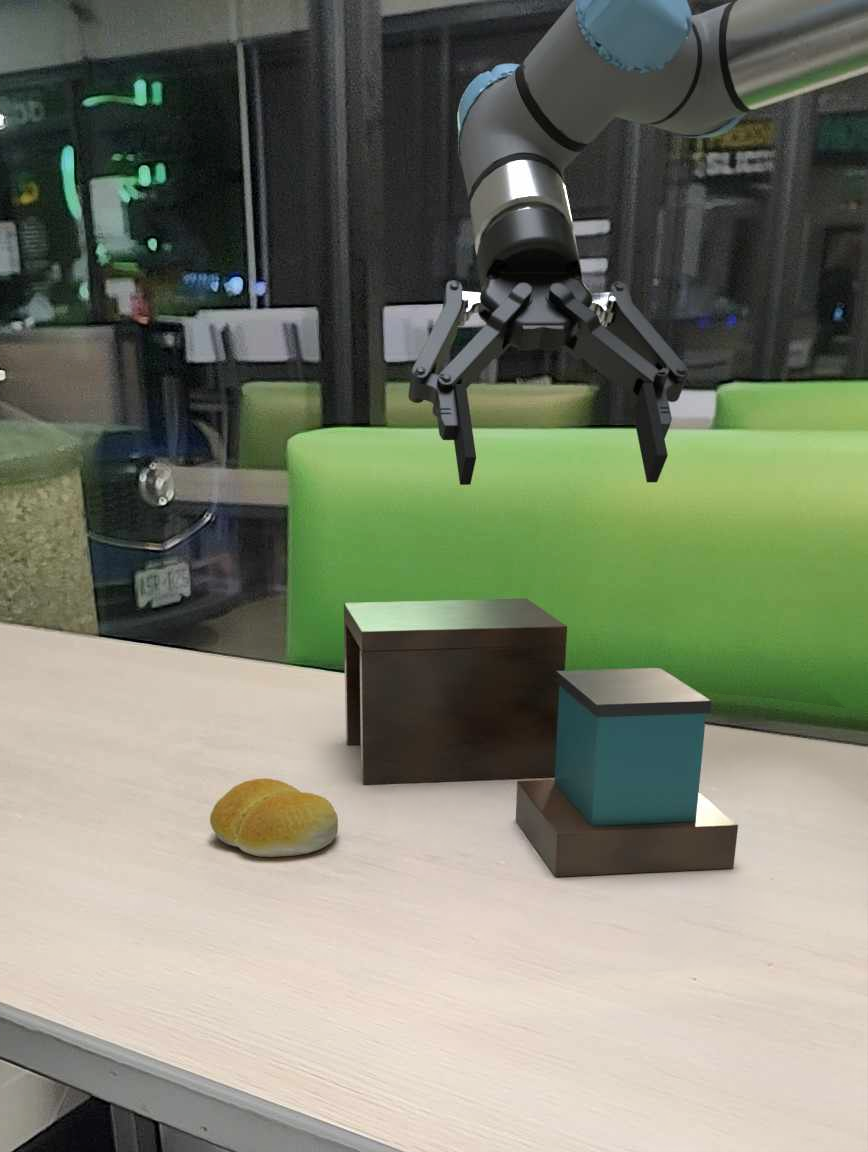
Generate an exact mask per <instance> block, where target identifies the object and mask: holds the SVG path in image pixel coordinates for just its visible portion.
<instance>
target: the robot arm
mask: <svg viewBox="0 0 868 1152" xmlns="http://www.w3.org/2000/svg"><path fill="white" fill-rule="evenodd" d="M864 74H868V0H732V1H731V2H727V3H725V4H721V5H719V6H717V7H714V8H711V9H709V10H706V11H704V12H701V13H698V14H693V15H692V11H691V7H690V5H689V2H688V0H573V1H572V2H571V3H570V4H569V5H568V6H567V8H566V9H565V10H564V12H563V13H562V14H561V15H560V16H559V17H558V18H557V20H556V21H555V22H554V24H553V25H552V26H551V27H550V28H549V30H548V31H547V32H546V33H545V34H544V36H543V37H542V38H541V40H539V42H538V43H537V44H536V45H535V46H534V47H533V49H532V51H530V53H529V54H528V55H527V56H526V58H524V60H523V62H522V63H521V64H518V63H501V64H498V65H496V66H494V68H492V69H489V70H487V71H485V72H481V73H480V74H478V75H477V76H476V77H475V78H474V79H472V81H470V83H469V84H468V86H466V89H465V91H464V93H463V94H462V96H461V99H460V102H459V105H458V110H457V135H458V136H457V137H458V138H457V154H458V159H459V162H460V165H461V168H462V174H463V178H464V184H465V188H466V192H467V199H468V210H469V216H470V220H471V230H472V236H473V243H474V250H475V255H476V264H477V271H478V272H477V273H478V278H479V279H478V280H479V284H480V292H478V291H477V292H476V291H464V290H463V284H462V283H461V282H460V281H458V280H455V279H451V280H448V281H447V282H446V285H445V290H444V297H443V303H442V310H441V311H440V313H439V316H438V317H437V319H436V321H435V323H434V325H433V327H432V328H431V331H430V333H429V335H428V337H427V339H426V341H425V343H424V345H423V347H422V348H421V351H420V352H419V355H418V356H417V359H416V361H415V362H414V364H413V366H412V368H411V374H410V381H409V387H408V396H407V397H408V400H410V402H412V403H414V404H421V403H423V402H424V401H426V402H430V403H431V404H433V405H432V414H433V415H434V416H435V417H436V419H437V427H438V435H439V437H440V439H441V440H442V441H453V444H454V451H455V458H456V464H457V465H456V467H457V472H458V473H457V474H458V480H459V481H458V482H459V486H460V485H461V486H470V485H471V484H472V480H473V474H474V470H475V466H476V461H477V452H476V445H475V440H474V438H475V437H474V431H473V425H472V418H471V411H470V404H469V403H470V402H469V397H468V390H467V389H468V388H469V387H470V386H471V384H473V382H475V380H477V378H478V377H479V376H480V375H481V374H482V373H483V372H484V370H485V369H487V367H488V366H489V365H490V364H491V363H492V362H493V361H494V360H495V361H496V360H498V359H499V358H500V357H501V356H502V355H503V354H504V353H505V351H507V350H508V348H509V347H511V346H512V347H514V348H517V351H518V352H529V351H533V350H543V351H548V352H559V351H560V348H561V349H562V350H564V351H565V352H566V353H567V354H568V355H570V356H571V357H572V358H573V359H575V360H581V359H583V360H584V361H585V362H586V363H588V364H589V365H591V366H592V367H593V368H594V369H595V370H596V371H598V372H599V373H601V374H602V375H603V376H604V377H606V378H607V379H608V380H609V381H610V382H612V383H613V384H615V385H616V386H617V387H619V389H621V390H622V391H623V392H625V393H626V394H627V395H628V396H629V397H631V398H632V399H633V400H635V404H634V407H633V410H632V414H633V419H634V425H635V429H636V435H637V440H638V445H639V451H640V455H641V460H642V465H643V469H644V475H645V480H646V483H658V481H659V478H660V477H661V473H662V471H663V468H664V466H665V463H666V462H667V461H666V460H667V458H668V457H669V455H668V450H667V445H666V441H665V439H666V437H667V434H668V432H669V429H670V426H671V423H672V419H673V418H672V417H673V416H672V413H671V409H670V403H675V402H677V401H679V399H680V396H681V394H682V391H683V390H684V386H685V384H686V381H687V378H688V376H689V373H690V371H689V368H688V367H687V365H686V364H685V363H684V362H683V361H682V359H681V358H680V357H679V356H678V355H677V354H676V353H675V351H674V350H673V349H672V348H671V347H670V345H669V344H668V343H667V341H665V340H664V338H663V337H662V336H661V335H660V333H658V331H657V330H656V329H655V327H654V326H653V325H652V324H651V322H649V321H648V320H647V318H646V317H645V316H644V314H642V312H641V311H640V310H639V309H638V307H637V306H636V305H635V304H634V302H633V299H632V297H631V294H630V291H629V288H628V286H627V284H626V283H624V282H622V281H614V282H613V283H611V286H610V290H609V291H603V292H593V293H592V292H591V290H590V289H589V288H588V287H587V286H586V285H585V283H584V281H583V274H582V267H581V266H582V265H581V260H580V256H579V250H578V245H577V241H576V235H575V232H574V223H573V218H572V213H571V208H570V203H569V198H568V193H567V189H566V188H567V187H566V181H565V176H564V170H565V169H566V168H567V167H568V166H569V165H570V164H571V162H573V160H574V159H576V157H578V155H579V154H580V153H581V152H583V151H584V150H585V149H587V147H588V146H589V144H591V143H592V142H593V141H594V140H595V139H596V137H598V135H599V134H601V132H603V130H604V129H605V128H606V127H608V125H609V124H610V123H611V122H612V121H613V120H614V119H615V118H617V119H622V120H625V121H630V122H633V123H637V124H642V125H645V126H646V125H647V126H650V127H654V128H656V129H661V130H664V131H668V132H670V133H672V134H674V135H676V136H678V137H683V138H687V139H697V138H714V137H718V136H721V135H723V134H725V133H727V132H729V131H730V130H732V129H733V128H734V127H736V125H738V123H740V121H741V120H742V119H743V118H744V117H745V116H746V115H747V113H749V112H752V111H755V110H758V109H761V108H764V107H768V106H770V105H774V104H776V103H779V102H783V101H786V100H789V99H792V98H795V97H799V96H801V95H805V94H807V93H810V92H813V91H816V90H819V89H822V88H825V87H828V86H831V85H834V84H837V83H840V82H843V81H844V82H845V81H846V80H850V79H853V78H856V77H859V76H862V75H864ZM475 313H478V316H479V318H480V319H481V320H482V321H483V322H484V323H485V325H484V326H483V327H482V328H481V329H480V330H479V331H478V332H477V334H475V336H474V337H472V339H470V341H468V343H467V344H466V345H465V346H464V347H463V348H462V349H461V350H460V351H459V353H458V354H457V355H455V357H453V359H452V360H450V362H448V363H447V365H446V366H445V367H444V368H443V370H441V372H440V369H441V367H442V365H443V363H444V361H445V359H446V357H447V355H448V353H449V352H450V349H451V347H452V345H453V344H454V342H455V339H456V337H457V333H458V329H459V327H460V328H461V327H464V326H465V324H466V322H468V321H469V320H470V318H471V316H472V315H473V314H475ZM577 332H578V335H577V336H576V333H577ZM438 373H439V374H438Z"/></svg>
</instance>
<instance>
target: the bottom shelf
mask: <svg viewBox="0 0 868 1152" xmlns="http://www.w3.org/2000/svg"><path fill="white" fill-rule="evenodd" d="M515 801H516V802H515V803H516V804H515V822H516V823H517V825H518V826H519V827H520V829H521V830H522V831H523V833H524V834H525V836H526V837H527V838H528V840H529V841H530V843H531V844H532V846H533V847H534V848H535V850H536V851H537V853H538V854H539V856H540V857H541V858H542V860H543V861H544V863H545V865H546V866H547V868H549V870H550V871H551V873H552V875H554V877H556V878H559V877H562V878H563V877H580V876H601V875H602V876H603V875H604V876H605V875H620V874H621V875H622V874H623V875H625V874H642V873H643V874H644V873H646V874H647V873H661V872H662V873H664V872H683V871H684V872H685V871H687V872H688V871H704V870H707V871H708V870H726V869H734V866H735V858H736V850H737V849H736V848H737V841H738V840H737V839H738V832H739V831H738V829H739V824H737V823H736V821H734V820H733V819H731V818H730V817H729V815H727V814H726V813H724V812H723V811H722V810H721V809H719V808H718V807H717V806H716V805H715V804H714V803H713V802H711V801H710V800H709V799H708V798H707V797H705V796H704V795H703V794H702V793H700V792H699V793H698V804H697V814H696V822H677V823H654V824H631V825H609V826H591V825H590V824H589V822H588V821H587V820H586V819H585V818H584V817H583V816H582V814H581V813H580V812H579V811H578V810H577V809H576V807H575V806H574V805H573V804H572V803H571V802H570V800H569V799H568V798H567V797H566V796H565V795H564V794H563V792H562V791H561V790H560V789H559V788H558V787H557V785H556V784H555V779H536V780H535V779H534V780H533V779H532V780H517V782H516V800H515Z"/></svg>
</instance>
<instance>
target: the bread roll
mask: <svg viewBox="0 0 868 1152" xmlns="http://www.w3.org/2000/svg"><path fill="white" fill-rule="evenodd" d="M338 818H339V817H338V813H337V812H336V810H335V808H334V806H333V804H332V803H331V802H330V801H329V800H328V799H327V798H326V797H324V796H321V795H318V794H314V793H311V792H303V791H301V790H299V789H297V788H295V787H294V786H293V785H291V784H288V783H287V782H283V781H282V780H278V779H273V778H272V779H271V778H254V779H250V780H246V781H243V782H241V783H238V784H237V785H235V786H234V787H232V788H231V789H230V790H228V791H227V792H226V793H225V794H224V795H222V796H221V798H219V800H217V801H216V803H215V804H214V807H213V808H212V810H211V813H210V817H209V823H210V827H211V829H212V831H213V832H214V834H215V836H216V837H217V839H219V840H220V841H221V842H223V843H224V844H226V845H228V846H231V847H233V848H239V849H240V850H241V851H243V852H244V853H246V854H249V855H252V856H254V857H255V856H256V857H260V858H274V857H277V858H278V857H294V856H295V857H296V856H303V855H306V854H310V853H314V852H317V851H320V850H322V849H323V848H325V847H326V846H329V845H330V844H331V843H332V842H333V840H334V839H335V837H336V836H337V835H338V831H339V819H338Z"/></svg>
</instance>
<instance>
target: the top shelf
mask: <svg viewBox="0 0 868 1152" xmlns="http://www.w3.org/2000/svg"><path fill="white" fill-rule="evenodd" d="M567 641H568V626H567V625H566V624H565V623H563V622H562V621H560V620H559V619H558V618H556V617H555V616H553V615H551V614H550V613H549V612H547V611H546V610H544V609H543V608H541V607H540V606H539V605H538V604H535V602H533V601H532V600H530V599H528V598H491V599H490V598H489V599H487V598H485V599H484V598H483V599H449V600H448V599H445V600H410V601H408V600H406V601H403V600H402V601H370V602H365V601H364V602H344V603H343V642H344V644H343V646H344V648H343V649H344V652H343V653H344V654H343V655H344V707H345V708H344V712H345V714H344V715H345V742H346V744H347V745H349V746H350V745H360V780H361V782H362V784H363V785H382V784H383V785H384V784H406V783H407V784H409V783H412V784H413V783H431V782H432V783H433V782H434V783H435V782H436V783H437V782H457V781H458V782H461V781H483V780H484V781H485V780H508V779H511V780H513V779H535V778H555V763H556V742H557V722H558V702H559V684H558V683H556V672H557V671H566V658H567Z"/></svg>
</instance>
